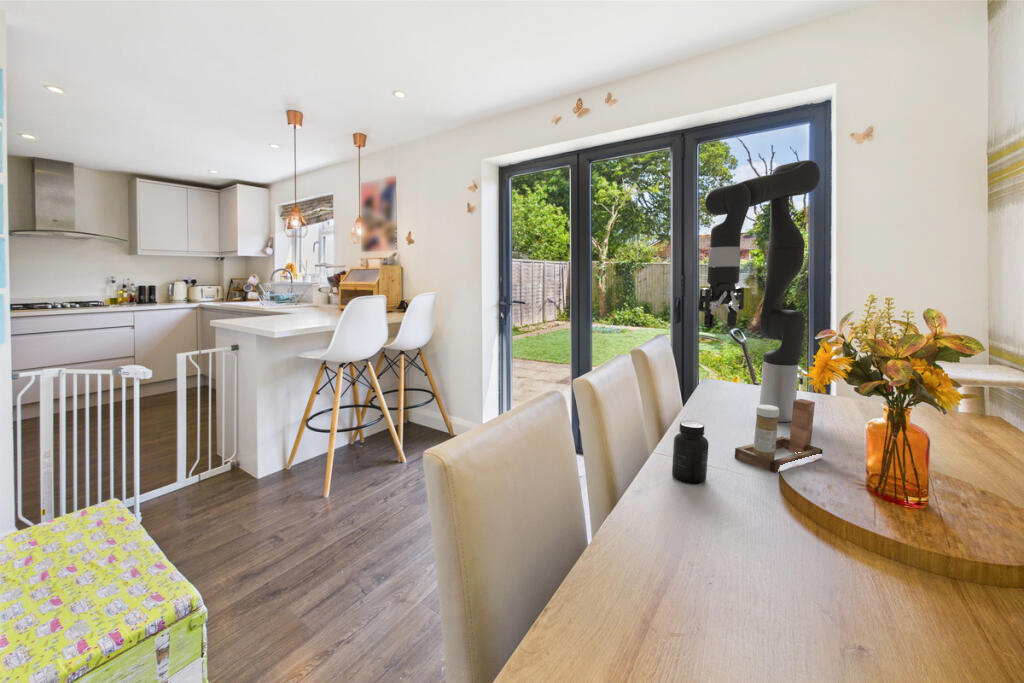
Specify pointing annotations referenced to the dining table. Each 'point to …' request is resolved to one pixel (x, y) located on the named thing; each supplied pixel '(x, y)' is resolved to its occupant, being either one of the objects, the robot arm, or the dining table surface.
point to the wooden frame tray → (787, 440)
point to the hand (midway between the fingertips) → (720, 327)
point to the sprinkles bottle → (766, 430)
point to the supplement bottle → (690, 453)
